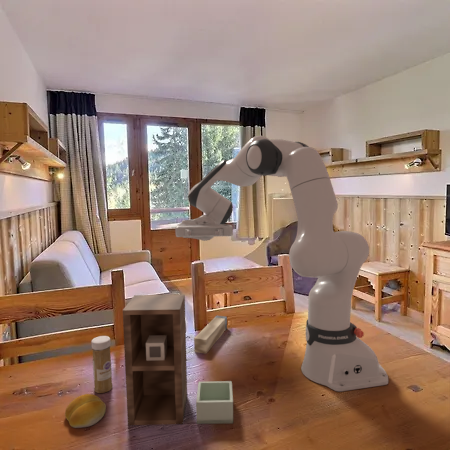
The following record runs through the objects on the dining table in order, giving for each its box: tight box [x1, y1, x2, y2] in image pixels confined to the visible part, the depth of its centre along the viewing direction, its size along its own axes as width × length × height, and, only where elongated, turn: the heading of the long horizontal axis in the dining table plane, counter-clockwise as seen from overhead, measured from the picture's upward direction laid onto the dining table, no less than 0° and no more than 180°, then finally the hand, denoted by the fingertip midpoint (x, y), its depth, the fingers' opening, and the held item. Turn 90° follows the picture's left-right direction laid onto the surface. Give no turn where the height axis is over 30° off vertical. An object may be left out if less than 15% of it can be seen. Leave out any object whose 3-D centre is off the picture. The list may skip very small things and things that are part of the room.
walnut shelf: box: [122, 294, 188, 426], centre depth 79 cm, size 12×10×26 cm
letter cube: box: [146, 335, 167, 361], centre depth 78 cm, size 4×4×4 cm
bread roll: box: [64, 393, 107, 429], centre depth 78 cm, size 8×9×4 cm
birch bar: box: [193, 315, 228, 354], centre depth 117 cm, size 4×20×4 cm, turn 161°
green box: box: [195, 380, 234, 425], centre depth 79 cm, size 8×8×5 cm
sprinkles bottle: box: [90, 335, 113, 394], centre depth 88 cm, size 5×5×13 cm
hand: (203, 233), depth 115 cm, fingers open, 8 cm apart
